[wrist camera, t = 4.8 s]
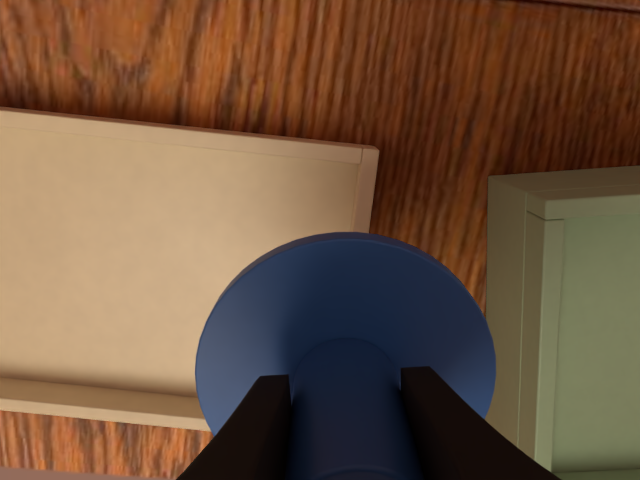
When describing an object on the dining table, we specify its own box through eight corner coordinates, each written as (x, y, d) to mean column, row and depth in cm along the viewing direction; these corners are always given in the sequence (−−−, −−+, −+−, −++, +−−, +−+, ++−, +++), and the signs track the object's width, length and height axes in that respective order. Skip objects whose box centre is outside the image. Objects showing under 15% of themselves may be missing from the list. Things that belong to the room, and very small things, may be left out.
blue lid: (484, 477, 13) (567, 677, 9) (219, 491, 13) (169, 695, 9) (494, 220, 11) (610, 311, 7) (179, 241, 11) (87, 342, 7)
